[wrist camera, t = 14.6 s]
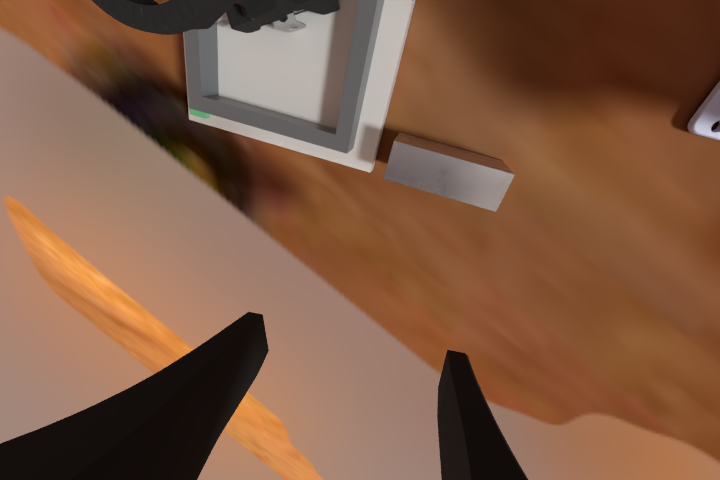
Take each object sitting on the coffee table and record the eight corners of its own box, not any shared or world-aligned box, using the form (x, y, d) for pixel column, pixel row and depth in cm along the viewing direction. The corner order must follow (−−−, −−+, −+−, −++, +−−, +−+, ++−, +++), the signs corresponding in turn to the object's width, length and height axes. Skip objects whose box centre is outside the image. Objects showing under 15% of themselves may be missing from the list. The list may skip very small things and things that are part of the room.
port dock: (460, -178, 11) (466, -239, 9) (373, 168, 18) (365, 179, 16) (181, -230, 12) (128, -296, 10) (200, 118, 19) (170, 122, 17)
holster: (637, -124, 11) (698, -187, 8) (486, 192, 18) (495, 211, 15) (480, -154, 12) (493, -222, 9) (390, 165, 18) (383, 178, 15)
